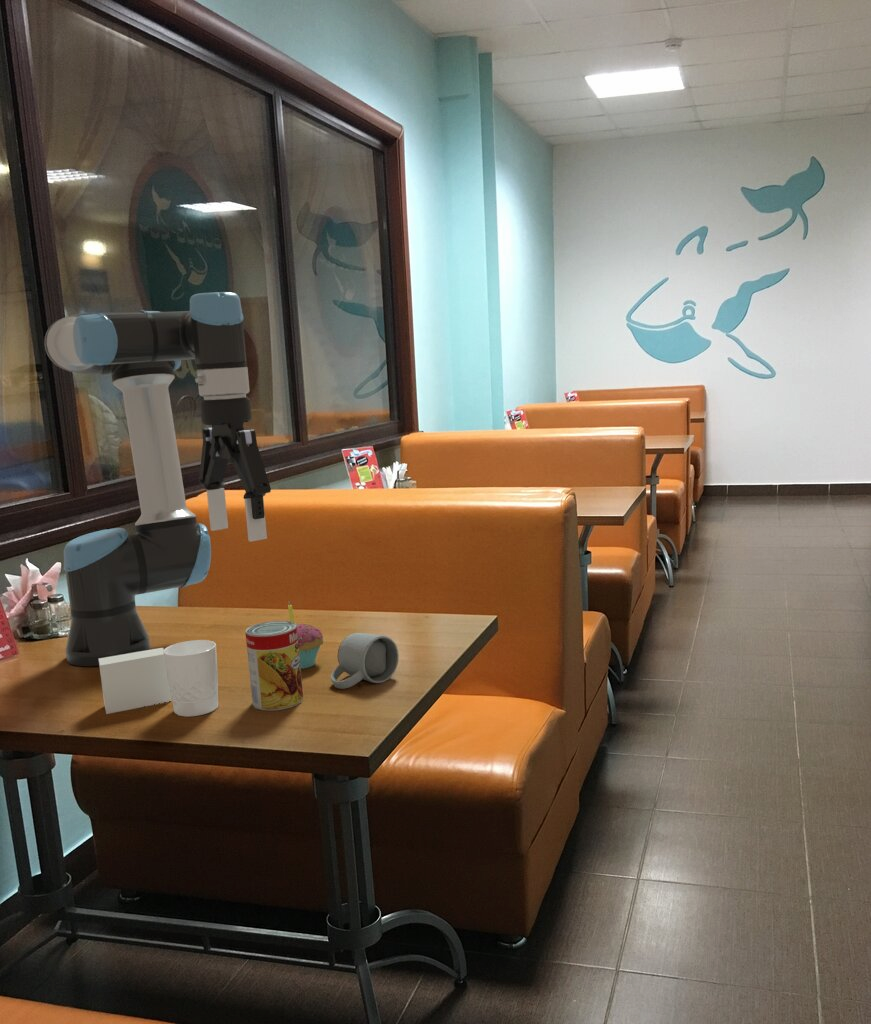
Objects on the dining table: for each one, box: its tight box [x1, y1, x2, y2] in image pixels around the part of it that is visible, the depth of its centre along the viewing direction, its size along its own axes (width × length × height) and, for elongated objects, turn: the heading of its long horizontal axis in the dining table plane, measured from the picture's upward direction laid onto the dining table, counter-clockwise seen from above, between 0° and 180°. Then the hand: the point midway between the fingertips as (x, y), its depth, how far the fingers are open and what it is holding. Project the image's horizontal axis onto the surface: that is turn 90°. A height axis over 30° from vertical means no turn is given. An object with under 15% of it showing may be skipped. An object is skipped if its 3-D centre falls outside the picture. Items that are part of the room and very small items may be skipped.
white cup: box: [163, 639, 219, 718], centre depth 147 cm, size 8×8×10 cm
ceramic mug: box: [330, 632, 400, 690], centre depth 156 cm, size 11×8×8 cm
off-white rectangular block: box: [99, 647, 173, 715], centre depth 151 cm, size 4×10×8 cm, turn 113°
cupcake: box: [287, 601, 324, 670], centre depth 165 cm, size 9×8×12 cm
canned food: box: [244, 620, 304, 712], centre depth 148 cm, size 8×8×12 cm
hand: (238, 534), depth 147 cm, fingers open, 13 cm apart
